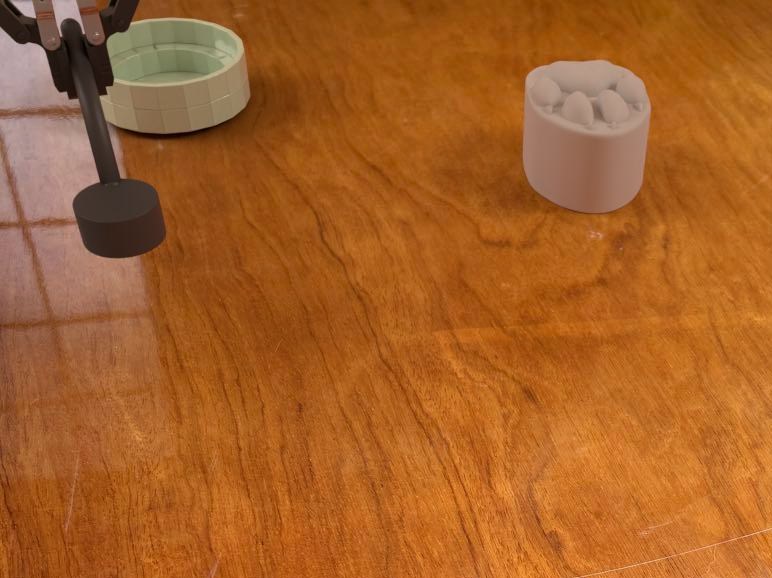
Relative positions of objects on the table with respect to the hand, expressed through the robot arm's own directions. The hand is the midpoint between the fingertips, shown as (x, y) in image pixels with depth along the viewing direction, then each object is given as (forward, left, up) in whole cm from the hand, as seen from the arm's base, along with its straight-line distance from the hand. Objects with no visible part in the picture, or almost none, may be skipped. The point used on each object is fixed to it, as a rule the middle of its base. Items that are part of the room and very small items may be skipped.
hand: (86, 92), depth 84 cm
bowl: (+18, +16, -13) cm, 28 cm away
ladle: (-3, -5, -5) cm, 8 cm away
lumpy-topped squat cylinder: (+34, -20, -13) cm, 42 cm away
